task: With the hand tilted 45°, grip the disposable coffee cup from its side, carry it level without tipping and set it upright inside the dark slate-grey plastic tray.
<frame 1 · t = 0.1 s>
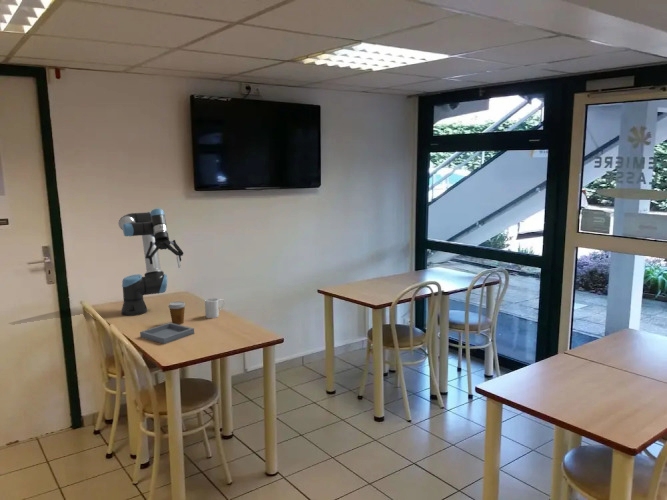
hand: (166, 267, 292), 36 cm above the table, tool tilted 35°, fingers open, 13 cm apart
slate tray: (167, 335, 289), on the table
mug: (215, 316, 325), on the table
disposable coffee cup: (178, 323, 311), on the table
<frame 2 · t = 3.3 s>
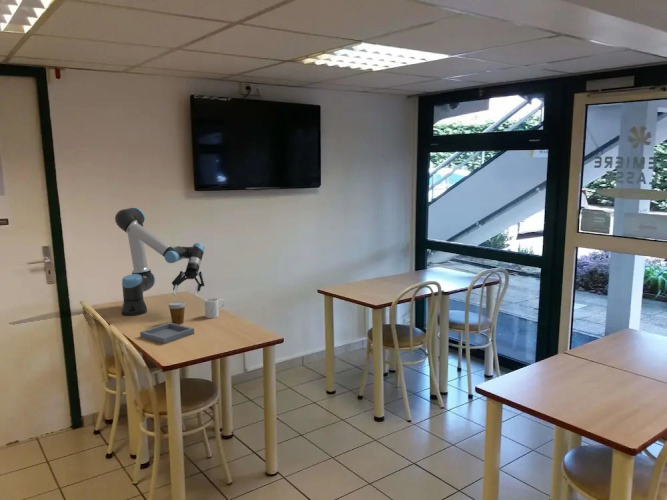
hand: (184, 295, 319), 14 cm above the table, tool tilted 45°, fingers open, 13 cm apart
nothing on the table moved.
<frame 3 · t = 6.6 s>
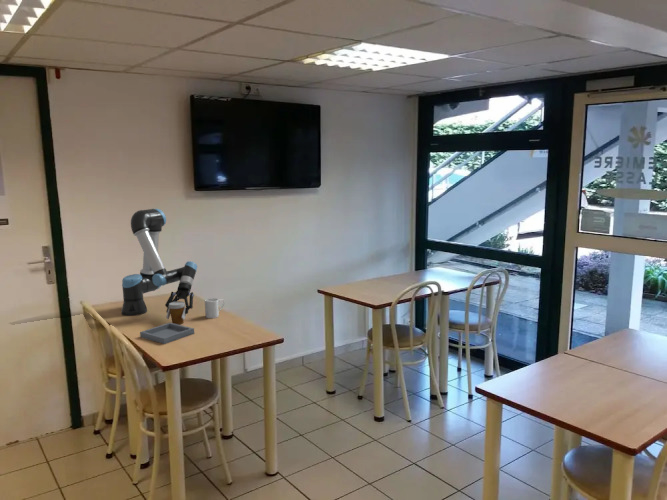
hand: (175, 318, 307), 4 cm above the table, tool tilted 45°, fingers closed on disposable coffee cup, 9 cm apart
disposable coffee cup: (178, 323, 311), on the table, touching gripper
everything else where it was.
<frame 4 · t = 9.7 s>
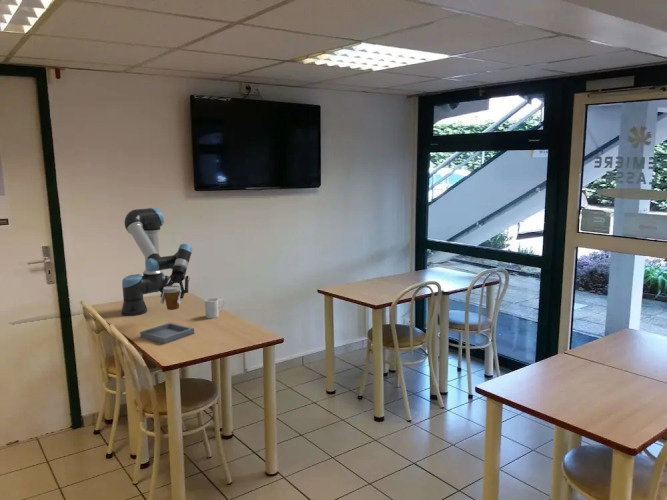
hand: (170, 303, 290), 17 cm above the table, tool tilted 45°, fingers closed on disposable coffee cup, 9 cm apart
disposable coffee cup: (173, 308, 293), point 13 cm above the table, touching gripper
everything else where it was.
when the fingers open (6 cm above the table, at t = 13.1 s): disposable coffee cup moves 4 cm, resting on slate tray.
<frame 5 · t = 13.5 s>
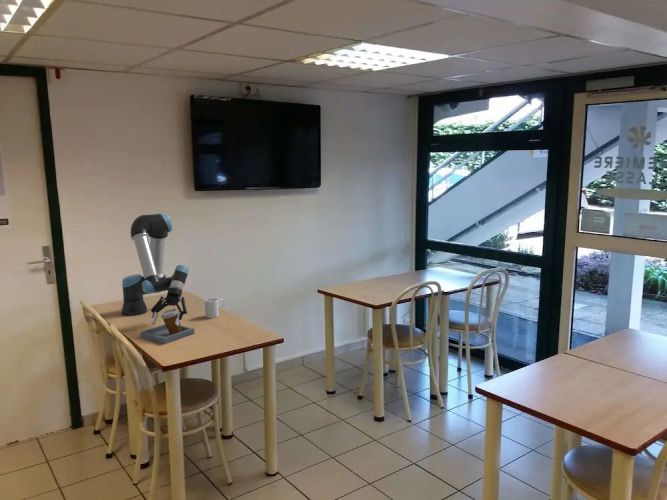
hand: (164, 324, 286), 7 cm above the table, tool tilted 45°, fingers open, 13 cm apart
disposable coffee cup: (175, 332, 290), point 1 cm above the table, touching slate tray
everything else where it was.
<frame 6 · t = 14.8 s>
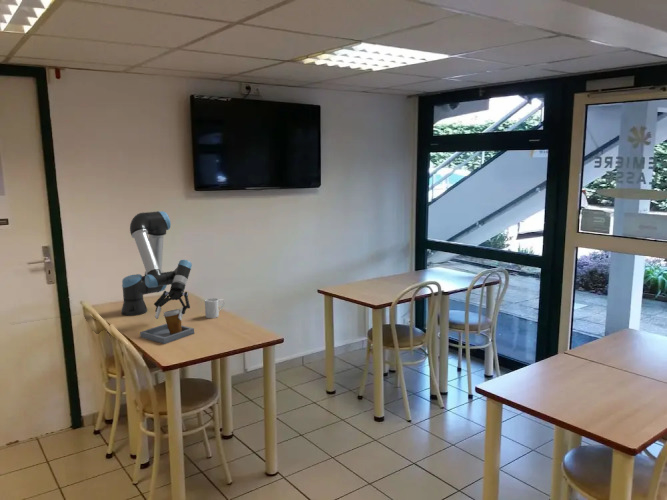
hand: (167, 318, 289), 9 cm above the table, tool tilted 45°, fingers open, 13 cm apart
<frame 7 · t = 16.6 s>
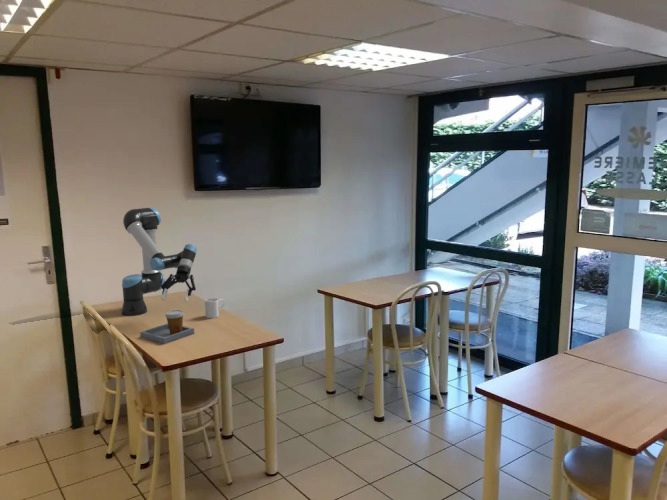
hand: (174, 300, 297), 17 cm above the table, tool tilted 45°, fingers open, 13 cm apart
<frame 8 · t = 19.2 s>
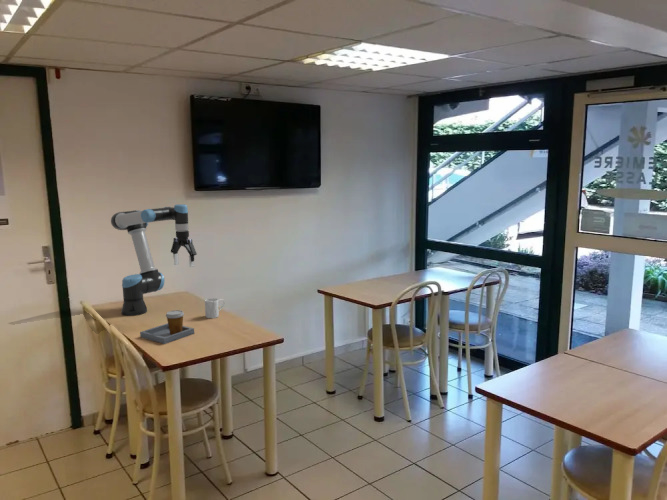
hand: (184, 265, 319), 32 cm above the table, tool pointing down, fingers open, 13 cm apart
at the end: disposable coffee cup inside the target area on the slate tray (4.5 cm from its centre), point 0.4 cm above the slate tray's base; disposable coffee cup tilted 0°; the gripper is holding nothing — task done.
